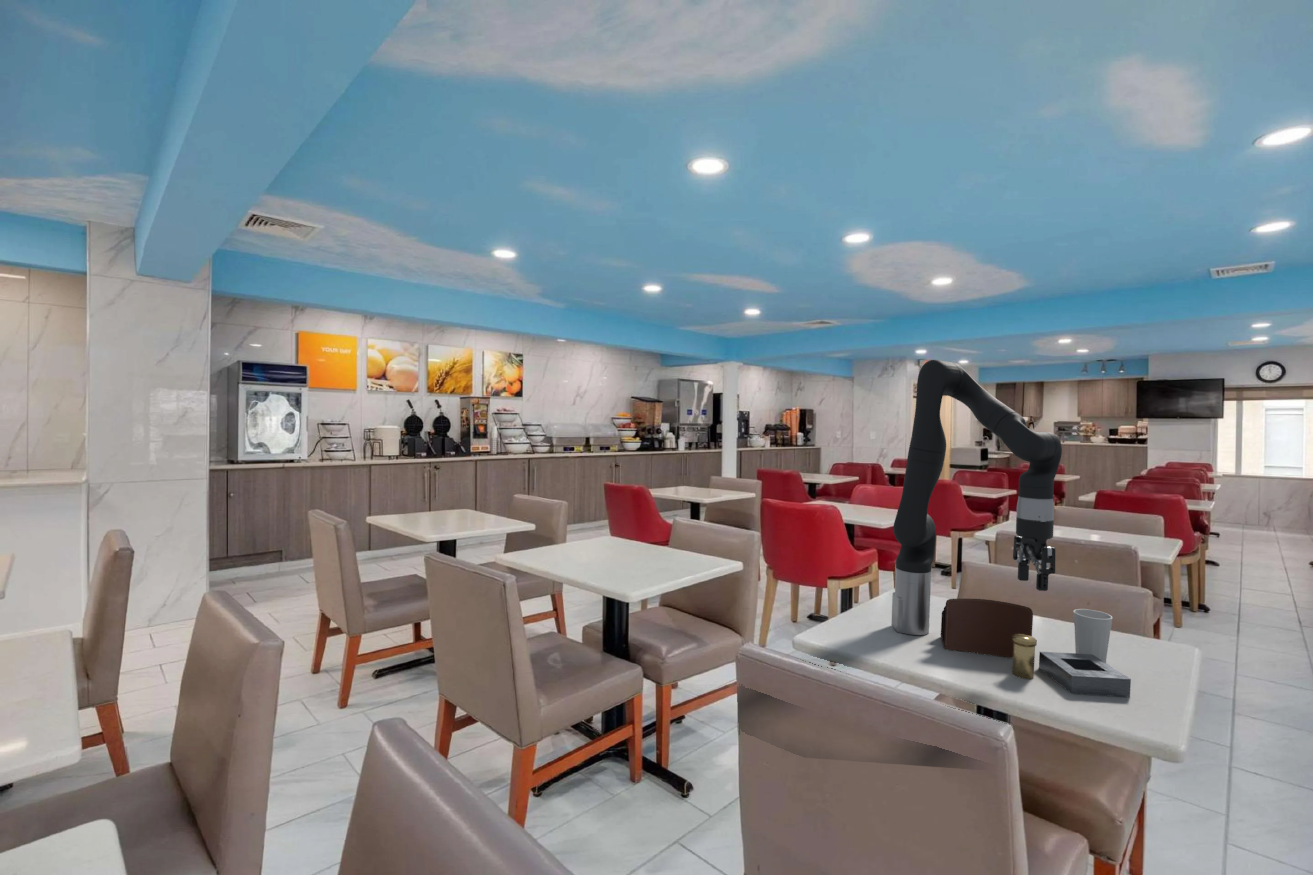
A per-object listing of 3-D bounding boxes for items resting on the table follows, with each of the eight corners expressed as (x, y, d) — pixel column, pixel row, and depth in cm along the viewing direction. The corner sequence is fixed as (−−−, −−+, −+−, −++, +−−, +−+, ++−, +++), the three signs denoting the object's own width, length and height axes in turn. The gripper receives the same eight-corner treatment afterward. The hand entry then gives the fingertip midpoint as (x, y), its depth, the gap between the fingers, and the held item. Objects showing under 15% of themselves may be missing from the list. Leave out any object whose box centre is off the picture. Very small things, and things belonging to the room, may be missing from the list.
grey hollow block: (1071, 693, 138) (1072, 675, 138) (1038, 667, 152) (1039, 651, 151) (1129, 697, 137) (1130, 678, 136) (1091, 670, 150) (1092, 654, 150)
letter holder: (1031, 661, 156) (1034, 605, 155) (943, 650, 163) (946, 596, 162) (1022, 647, 165) (1025, 594, 165) (940, 637, 172) (942, 586, 171)
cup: (1098, 670, 151) (1101, 621, 150) (1064, 658, 158) (1066, 611, 157) (1117, 664, 154) (1119, 616, 154) (1082, 653, 162) (1084, 607, 161)
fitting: (1016, 678, 145) (1018, 640, 145) (1006, 670, 150) (1008, 632, 150) (1039, 680, 144) (1041, 641, 144) (1028, 671, 149) (1030, 633, 149)
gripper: (1003, 511, 155) (1001, 576, 155) (1034, 521, 141) (1031, 593, 141) (1035, 512, 154) (1033, 577, 155) (1069, 522, 140) (1066, 594, 141)
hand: (1032, 585), depth 148 cm, fingers open, 8 cm apart
